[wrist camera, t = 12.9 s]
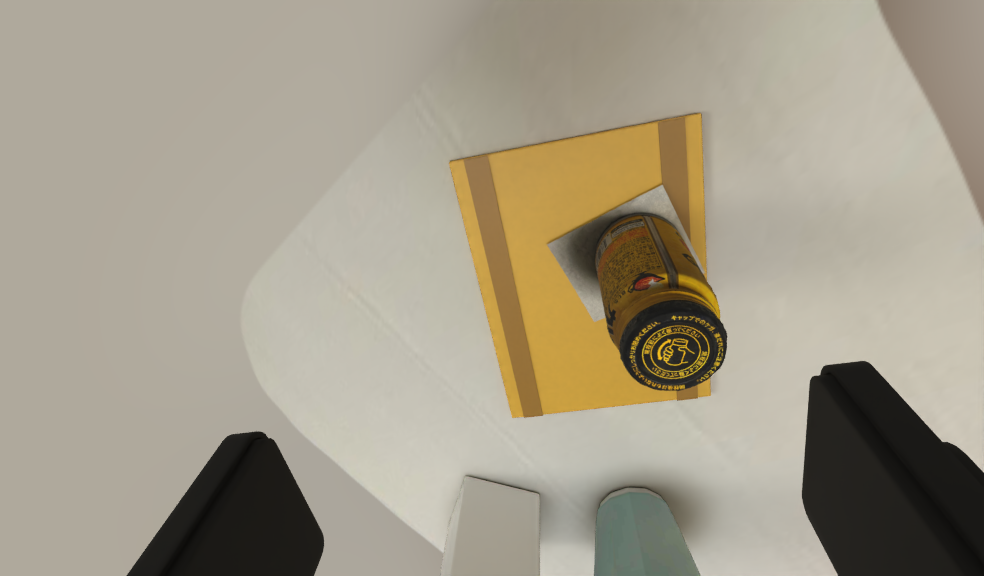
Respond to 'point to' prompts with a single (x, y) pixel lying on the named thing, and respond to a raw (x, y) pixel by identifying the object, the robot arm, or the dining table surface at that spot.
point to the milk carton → (493, 532)
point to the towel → (537, 274)
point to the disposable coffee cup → (639, 537)
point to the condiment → (647, 292)
